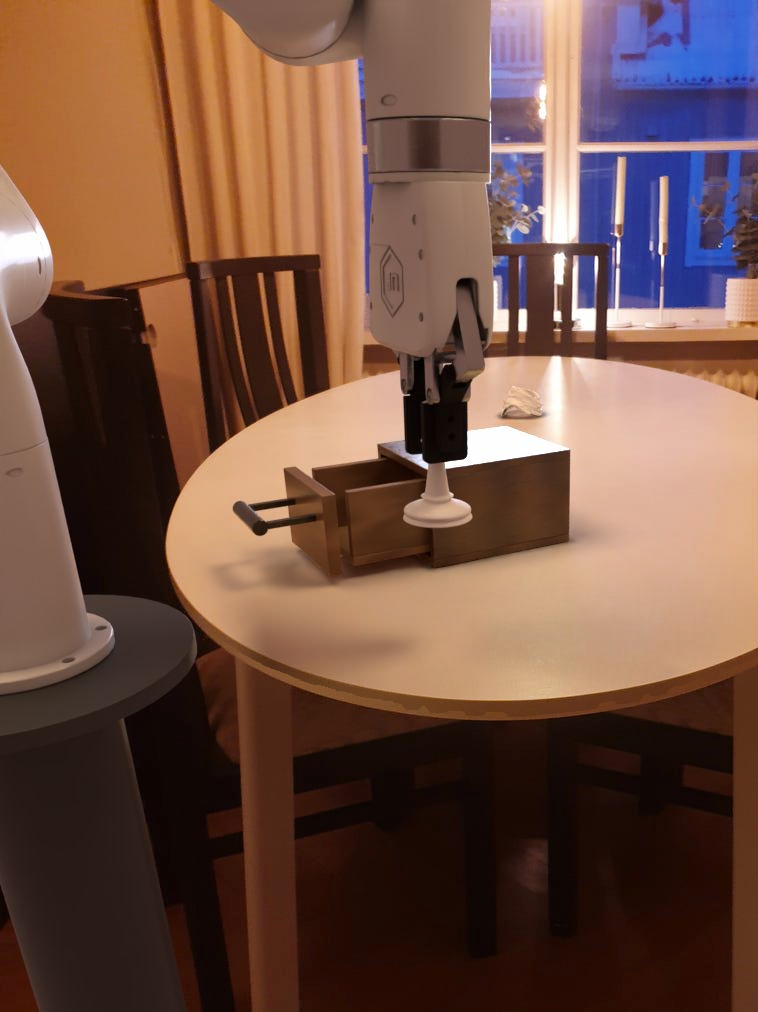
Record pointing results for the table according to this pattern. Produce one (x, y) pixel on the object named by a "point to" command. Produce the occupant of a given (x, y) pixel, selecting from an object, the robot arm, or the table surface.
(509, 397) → the beige lumpy piece
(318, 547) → the drawer
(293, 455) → the table surface
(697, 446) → the table surface
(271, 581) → the table surface
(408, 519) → the chess piece
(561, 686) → the table surface
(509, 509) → the cabinet
